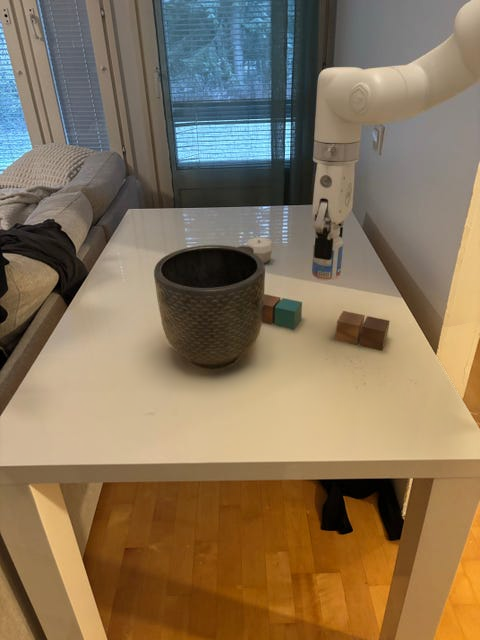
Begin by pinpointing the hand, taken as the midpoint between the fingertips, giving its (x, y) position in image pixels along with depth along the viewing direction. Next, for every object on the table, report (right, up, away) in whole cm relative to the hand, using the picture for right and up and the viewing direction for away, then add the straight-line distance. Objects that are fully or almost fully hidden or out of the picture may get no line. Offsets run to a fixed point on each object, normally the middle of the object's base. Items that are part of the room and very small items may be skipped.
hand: (327, 251), depth 87 cm
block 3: (+6, -16, +10) cm, 20 cm away
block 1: (-10, -12, +17) cm, 23 cm away
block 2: (-6, -13, +15) cm, 21 cm away
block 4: (+11, -17, +8) cm, 22 cm away
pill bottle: (0, -4, +3) cm, 5 cm away
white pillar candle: (-11, +3, +43) cm, 44 cm away
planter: (-22, -20, +5) cm, 30 cm away
